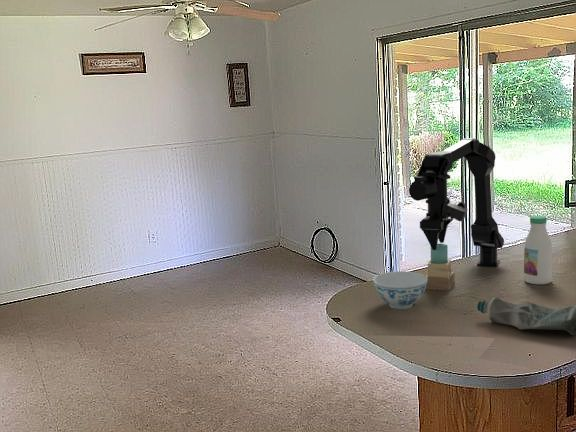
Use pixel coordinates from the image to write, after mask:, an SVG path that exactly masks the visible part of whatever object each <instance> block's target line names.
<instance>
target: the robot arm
mask: <svg viewBox="0 0 576 432" xmlns="http://www.w3.org/2000/svg"><path fill="white" fill-rule="evenodd" d="M462 158H464V160H466V162H467V167H468V169H469V171H470V173H471V174H472V176H473V177H474V178H473V181H474V182H473V183H474V194H475V199H474V200H475V212H476V216H475V217H476V218H475V220H474V222H473V223H471V225H470V231H471V233H470V235H471V239H472V244H473V246H474V247H479V260H478V262H477V263H476V266H485V267H487V266H488V267H497V266H498V265H499V263H501V261H500V259H498V249H503V247H504V243H505V239H504V237H503V236H502V234H501V233H500V232H499V225H498V223H497V221H496V220H495V219H494V217H493V209H492V208H493V207H492V194H491V193H492V191H491V190H492V189H491V173H492V171H493V169H494V167H495V163H496V162H495V161H496V153H495V151H494V150H493V149H492V148H491V147H490V146H489V145H486V144H484V143H482V142H480V140H479V139H477V138H473V137H472V138H467V137H466V138H465V137H464V138H461V139H460V140H459V142H456V143H454V144H453V145H451V146H449V147H446V148H445V149H444V150H441V151H432V152H428V153H427V154H425V155H424V157H423V160H422V162H421V165H420V168H419V170H418V173H417V176H415V177H414V181H412V183H411V184H410V185H409V188H408V194H409V196H410V197H411V198H412V199H413V200H414V201H418V202H419V201H423V200H425V203H426V204H427V212H426V213H425V217H423V218H422V219H421V220H420V221H419V229H421V231H422V232H423V234H424V236H425V237H426V240H427V241H428V243H429V245H430V246H429V247H430V249H431V248H432V250H436V249H437V244H444V243H445V239H446V238H445V237H446V234H447V229H448V226H449V225H450V223H452V222H453V221H454V220H456V221H458V222H463V220H465V219H466V216H467V213H468V208H467V206H466V203H465V202H462V201H460V202H458V203H451V200H450V198H449V197H448V180H449V179H451V175H450V174H449V173H448V172H449V171H450V170H451V169H453V165H454V163H455V162H457V161H459V160H461V159H462ZM438 241H439V242H438Z"/></svg>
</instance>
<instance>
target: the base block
mask: <svg viewBox="0 0 576 432" xmlns="http://www.w3.org/2000/svg"><path fill="white" fill-rule="evenodd" d="M455 273H456V272H455V271H451V273H450V275H449V277H448V278H445V277H428V272H427V273H426V274H425V276H426V277H427V279H428V281H427V286H426V288H428V290H436V289H438V290H437V291H447V292H449V291H450V290H451V289H452V288H453V286H454V285H455V284H456V282H455V280H456V277H455V276H456V274H455Z"/></svg>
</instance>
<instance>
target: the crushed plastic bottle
mask: <svg viewBox="0 0 576 432" xmlns="http://www.w3.org/2000/svg"><path fill="white" fill-rule="evenodd" d="M476 309H477V311H479V312H481V313H482V314H487V318H488V320H489V321H491V322H493V323H497V324H501V325H502V324H503V325H509V326H513V327H516V328H517V329H518V330H553V331H554V330H559V331H560V330H564V331H567V332H568V333H569V334H570V335H572V336H576V304H571V305H568V306H566V307H556V308H551V307H548V306H547V307H546V306H543V305H539V304H537V303H533V302H530V301H523V302H521V303H519V304H514V303H512V302H510V301H505V300H503V299H501V298H499V297H497V296H493V297H492V298H491V300H490V301H488V300H482V301H481V300H480V301H478V303H477V307H476Z"/></svg>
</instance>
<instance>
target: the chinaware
mask: <svg viewBox="0 0 576 432" xmlns="http://www.w3.org/2000/svg"><path fill="white" fill-rule="evenodd" d="M425 275H426V274H425ZM425 275H424V274H422V273H419V272H415V271H414V272H412V271H400V270H399V271H398V270H397V271H388V272H383V273H380V274H378V275H375V276H374V277H373V280H372V282H373V285H374V288H375V290H376V292H377V294H378V296H380V298H381V299H382V300H383V301H384V302H385V303H388V305H389V307H390V308H392V309H396V310H397V309H398V310H405V309H410V308H412V307H413V306H414V303H416V302H417V301H418V300H420V299H421V297H422V296H423V294H425V293H424V292H425V291H426V290H427V289H426V286H427V281H428V279H427V277H426V276H425Z"/></svg>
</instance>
